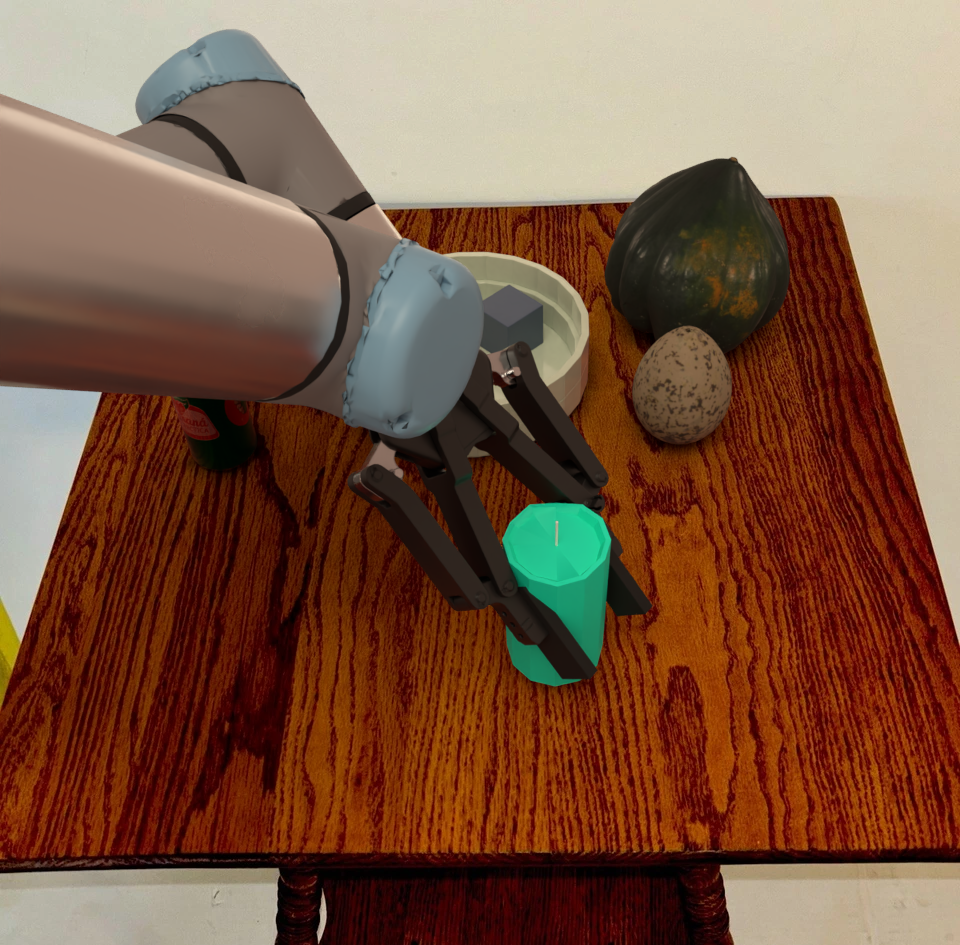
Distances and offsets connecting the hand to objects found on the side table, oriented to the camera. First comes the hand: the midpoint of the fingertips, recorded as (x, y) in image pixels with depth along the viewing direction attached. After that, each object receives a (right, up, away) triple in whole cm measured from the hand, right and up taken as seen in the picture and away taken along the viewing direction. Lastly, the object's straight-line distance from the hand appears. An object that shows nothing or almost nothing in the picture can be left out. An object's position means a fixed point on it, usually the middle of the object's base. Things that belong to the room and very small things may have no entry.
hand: (607, 641), depth 60 cm
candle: (-3, -1, +5) cm, 6 cm away
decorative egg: (+8, +13, +19) cm, 24 cm away
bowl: (-8, +18, +24) cm, 31 cm away
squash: (+10, +23, +28) cm, 38 cm away
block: (-5, +21, +26) cm, 34 cm away
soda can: (-27, +11, +20) cm, 36 cm away
